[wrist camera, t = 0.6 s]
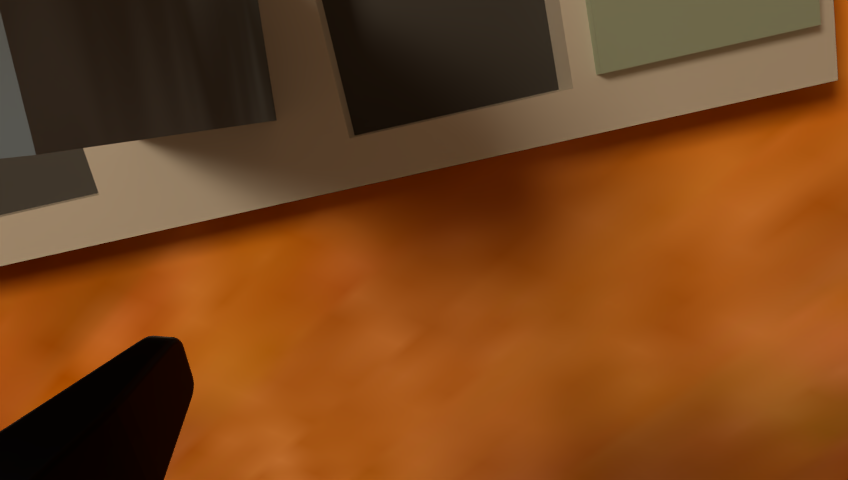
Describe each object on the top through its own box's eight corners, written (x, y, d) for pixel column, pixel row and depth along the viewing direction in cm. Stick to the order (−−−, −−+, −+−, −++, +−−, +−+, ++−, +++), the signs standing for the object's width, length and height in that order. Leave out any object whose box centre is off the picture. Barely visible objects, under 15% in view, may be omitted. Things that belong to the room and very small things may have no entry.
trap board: (772, -254, 18) (829, -309, 16) (797, 82, 20) (849, 79, 18) (-204, -21, 19) (-295, -39, 16) (-76, 276, 21) (-139, 299, 19)
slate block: (276, 120, 18) (36, 154, 7) (129, 136, 18) (-373, 197, 7) (252, -39, 17) (-87, -336, 5) (96, -22, 17) (-571, -284, 6)
